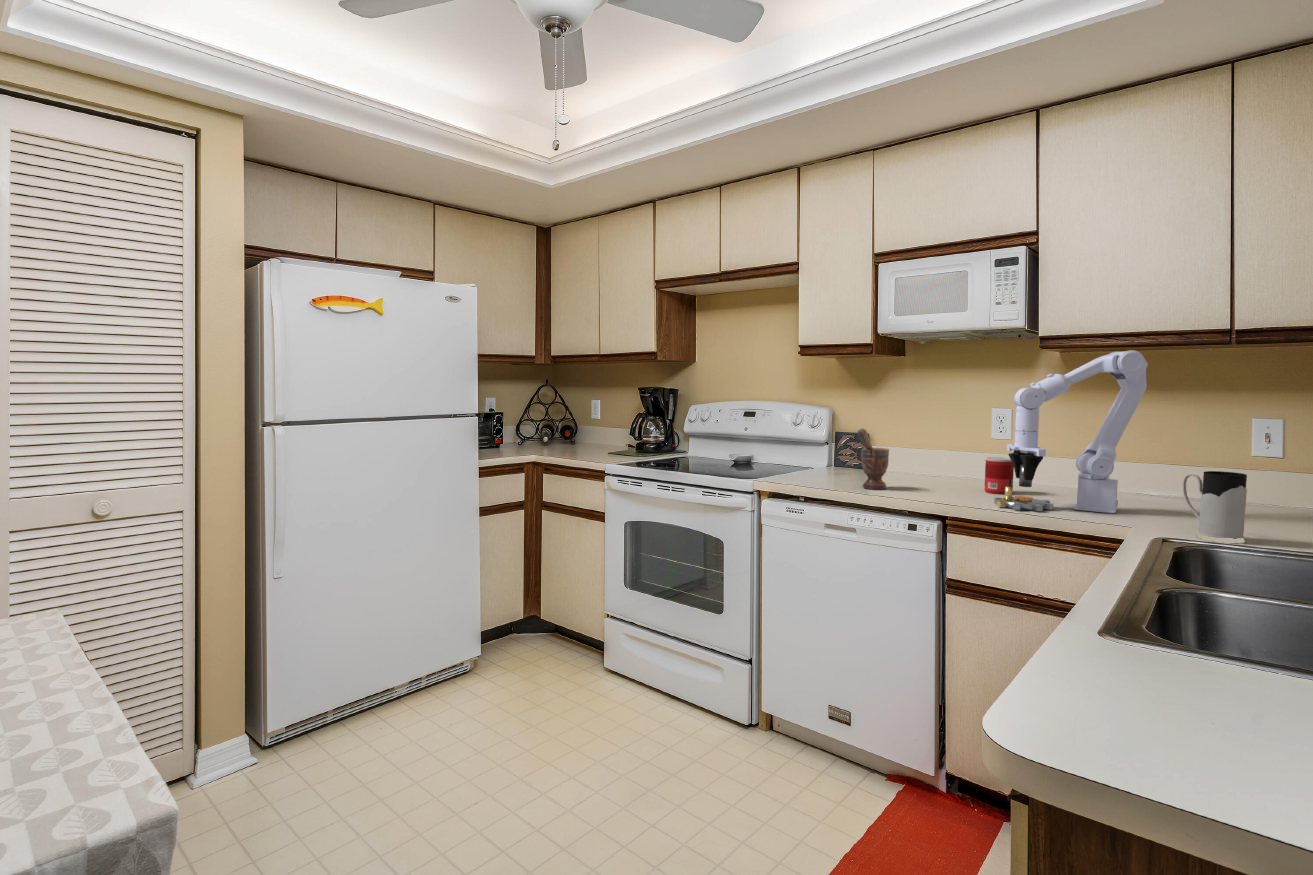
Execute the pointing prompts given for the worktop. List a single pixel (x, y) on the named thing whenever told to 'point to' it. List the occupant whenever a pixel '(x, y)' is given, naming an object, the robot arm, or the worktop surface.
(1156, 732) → the worktop surface
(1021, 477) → the roller
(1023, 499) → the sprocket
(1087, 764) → the worktop surface
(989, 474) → the canned food
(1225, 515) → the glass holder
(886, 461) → the mortar and pestle
